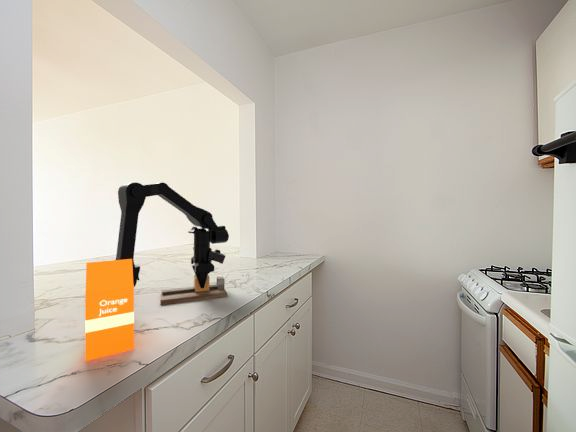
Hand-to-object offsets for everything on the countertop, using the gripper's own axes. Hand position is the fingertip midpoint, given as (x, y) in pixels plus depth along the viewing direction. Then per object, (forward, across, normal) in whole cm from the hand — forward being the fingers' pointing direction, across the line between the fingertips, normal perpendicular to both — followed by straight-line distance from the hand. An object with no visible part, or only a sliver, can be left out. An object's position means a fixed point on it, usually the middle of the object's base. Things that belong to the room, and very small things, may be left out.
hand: (201, 286), depth 98 cm
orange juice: (+3, -31, +24) cm, 39 cm away
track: (+3, 0, +3) cm, 4 cm away
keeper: (+1, 0, 0) cm, 1 cm away
